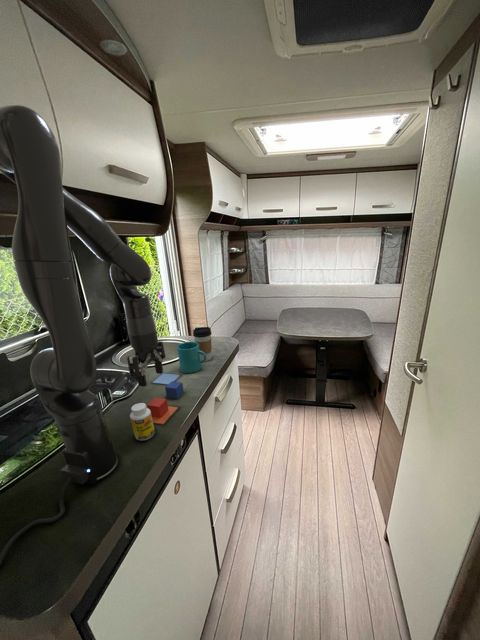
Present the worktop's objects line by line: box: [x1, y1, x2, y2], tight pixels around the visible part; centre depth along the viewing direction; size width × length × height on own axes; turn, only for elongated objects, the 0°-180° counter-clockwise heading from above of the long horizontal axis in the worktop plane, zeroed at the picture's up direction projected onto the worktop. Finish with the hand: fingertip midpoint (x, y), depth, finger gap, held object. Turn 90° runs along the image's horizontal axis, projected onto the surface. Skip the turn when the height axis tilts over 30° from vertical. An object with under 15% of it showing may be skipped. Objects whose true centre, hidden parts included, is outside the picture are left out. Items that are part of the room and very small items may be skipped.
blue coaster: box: [151, 372, 181, 386], centre depth 114 cm, size 8×8×1 cm
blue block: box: [164, 381, 184, 400], centre depth 102 cm, size 4×4×4 cm
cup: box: [176, 341, 207, 374], centre depth 120 cm, size 9×12×11 cm
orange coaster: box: [152, 405, 179, 425], centre depth 92 cm, size 9×9×1 cm
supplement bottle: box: [129, 402, 156, 442], centre depth 81 cm, size 6×6×10 cm
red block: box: [146, 397, 169, 418], centre depth 92 cm, size 4×4×4 cm
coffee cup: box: [192, 326, 212, 362], centre depth 129 cm, size 8×8×15 cm
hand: (151, 379), depth 87 cm, fingers open, 8 cm apart
